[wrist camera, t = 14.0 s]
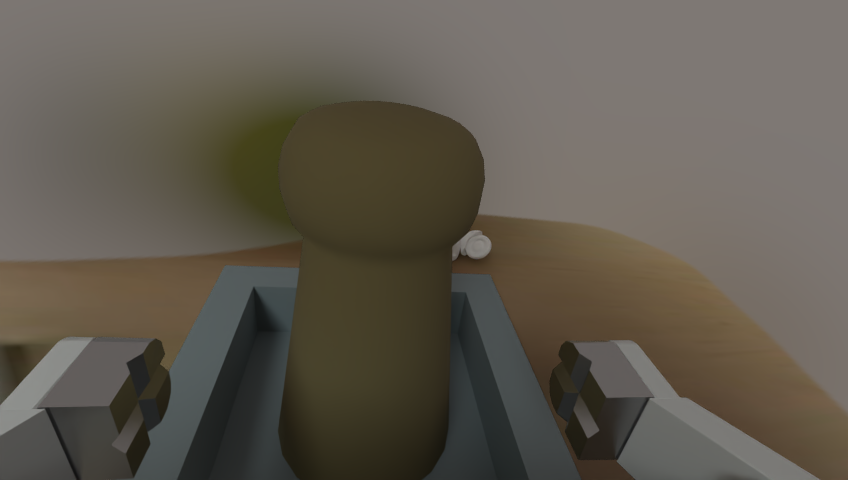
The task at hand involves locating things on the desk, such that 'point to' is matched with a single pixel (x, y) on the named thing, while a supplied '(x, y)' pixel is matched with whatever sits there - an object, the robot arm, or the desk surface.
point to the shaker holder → (265, 374)
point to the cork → (373, 286)
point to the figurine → (472, 245)
